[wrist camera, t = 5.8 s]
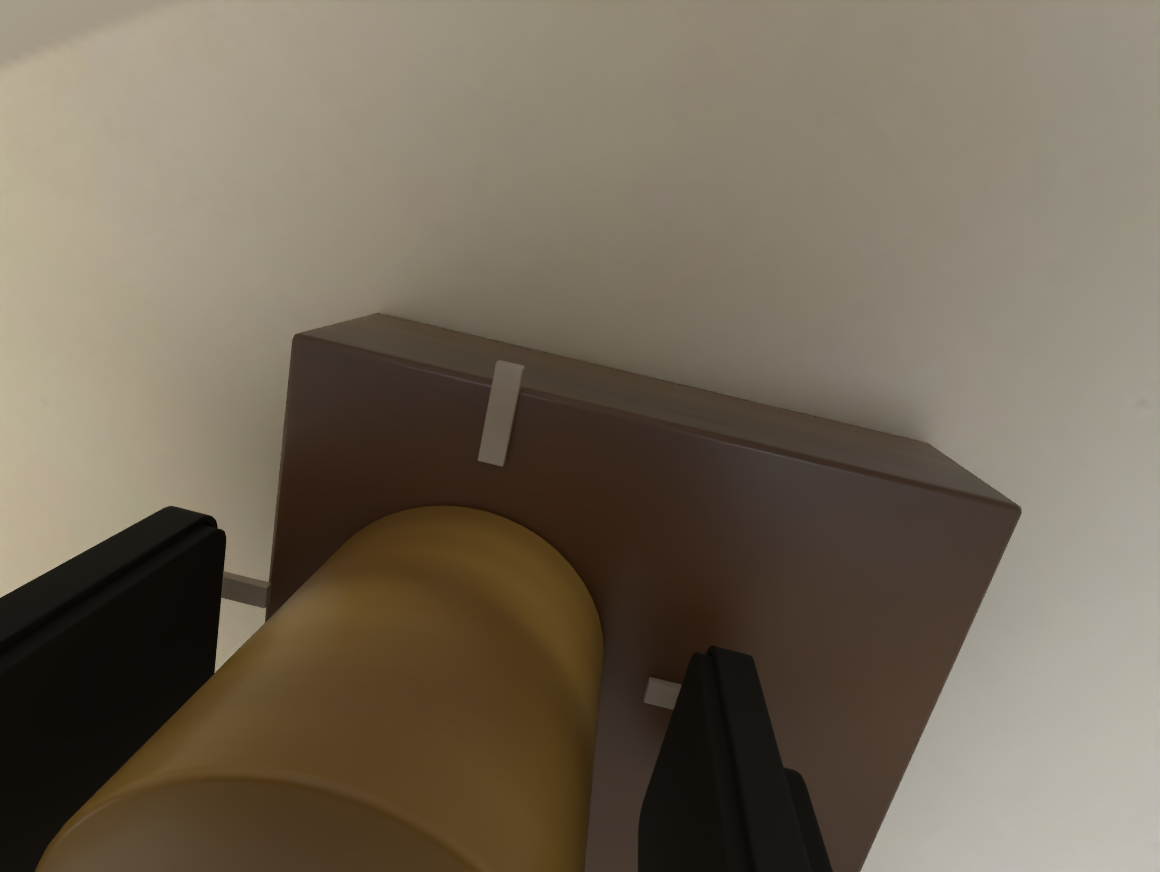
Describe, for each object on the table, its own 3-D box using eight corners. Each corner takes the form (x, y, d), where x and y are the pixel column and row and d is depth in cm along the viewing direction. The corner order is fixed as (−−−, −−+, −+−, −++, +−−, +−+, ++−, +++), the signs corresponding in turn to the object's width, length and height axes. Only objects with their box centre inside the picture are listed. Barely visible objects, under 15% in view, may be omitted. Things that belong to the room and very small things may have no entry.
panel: (306, 277, 12) (189, 288, 9) (937, 426, 12) (1044, 491, 8) (252, 816, 15) (156, 958, 12) (735, 940, 15) (760, 1115, 12)
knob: (297, 720, 11) (-17, 1154, 6) (336, 468, 9) (-24, 730, 4) (564, 794, 11) (493, 1302, 6) (638, 550, 9) (638, 915, 4)
